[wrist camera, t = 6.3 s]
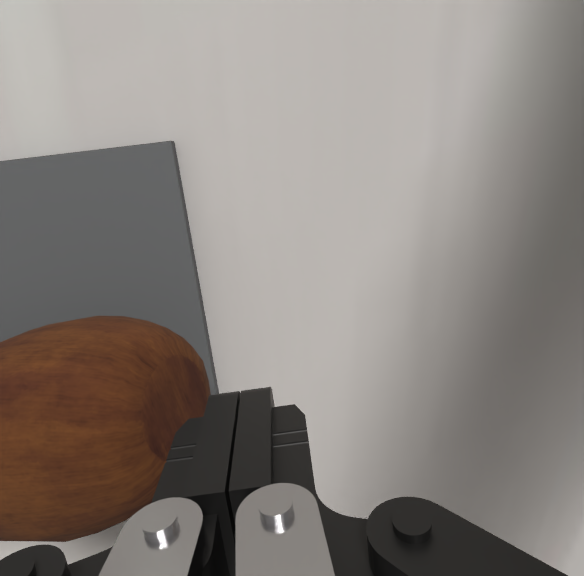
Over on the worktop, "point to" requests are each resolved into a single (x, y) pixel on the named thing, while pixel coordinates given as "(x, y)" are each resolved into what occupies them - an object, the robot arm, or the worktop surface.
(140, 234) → the book
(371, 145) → the worktop surface
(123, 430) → the wooden figurine
